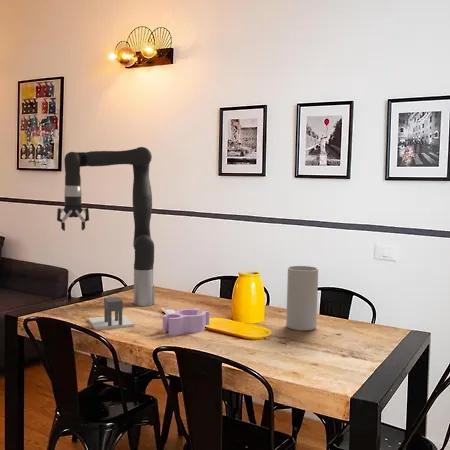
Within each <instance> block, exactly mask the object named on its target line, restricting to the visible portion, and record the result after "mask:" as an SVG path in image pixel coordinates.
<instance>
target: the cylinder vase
mask: <svg viewBox="0 0 450 450" xmlns="http://www.w3.org/2000/svg"><path fill="white" fill-rule="evenodd" d="M318 284H319V268H317V267H316V266H310V265H309V266H307V265H291V266H288V267H287V285H286V286H287V291H286V292H287V294H286V323H285V324H286V327H287V328H288V329H290V330H293V331H294V330H295V331H299V332H300V331H301V332H302V331H303V332H308V331H313V330H315V329H316V328H317V322H318V321H317V320H318V319H317V318H318V317H317V316H318V289H319V288H318V287H319V286H318Z"/></svg>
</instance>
